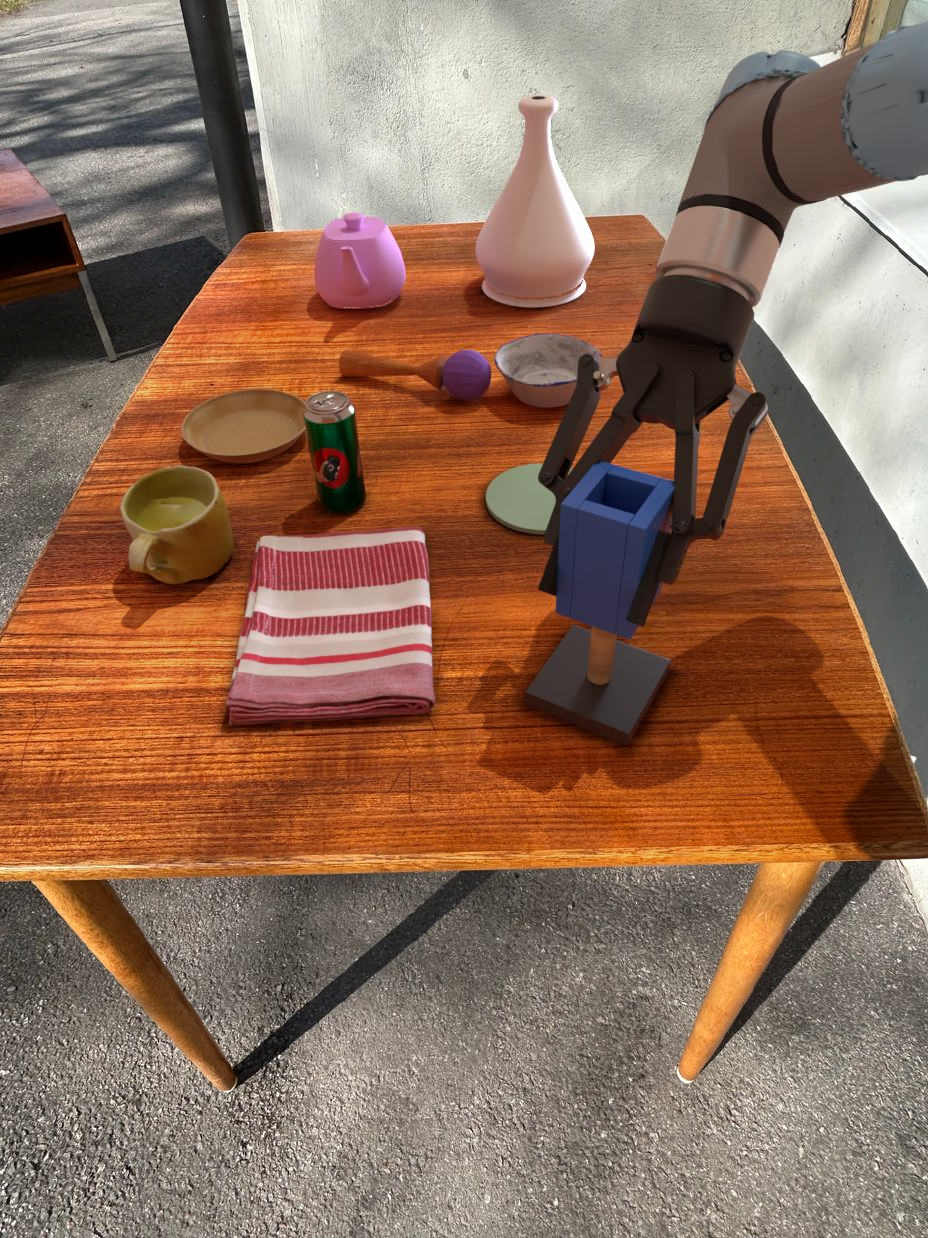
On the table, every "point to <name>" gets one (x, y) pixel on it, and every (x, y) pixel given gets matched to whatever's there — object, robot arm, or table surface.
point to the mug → (177, 525)
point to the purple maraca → (428, 371)
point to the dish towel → (335, 629)
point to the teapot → (358, 263)
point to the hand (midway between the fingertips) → (590, 607)
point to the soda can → (334, 451)
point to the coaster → (521, 499)
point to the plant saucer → (245, 425)
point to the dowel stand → (598, 683)
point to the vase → (535, 224)
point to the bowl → (543, 367)
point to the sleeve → (609, 544)
